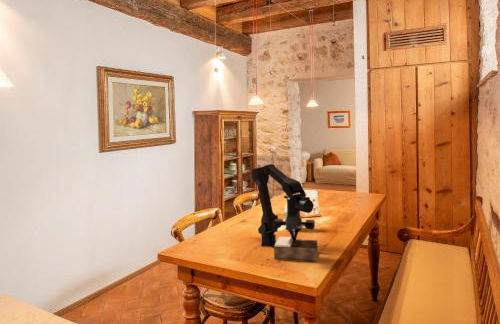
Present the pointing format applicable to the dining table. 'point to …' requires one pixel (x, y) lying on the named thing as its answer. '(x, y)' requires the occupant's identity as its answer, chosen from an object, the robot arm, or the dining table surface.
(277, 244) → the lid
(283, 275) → the dining table surface
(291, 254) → the box
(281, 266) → the dining table surface
